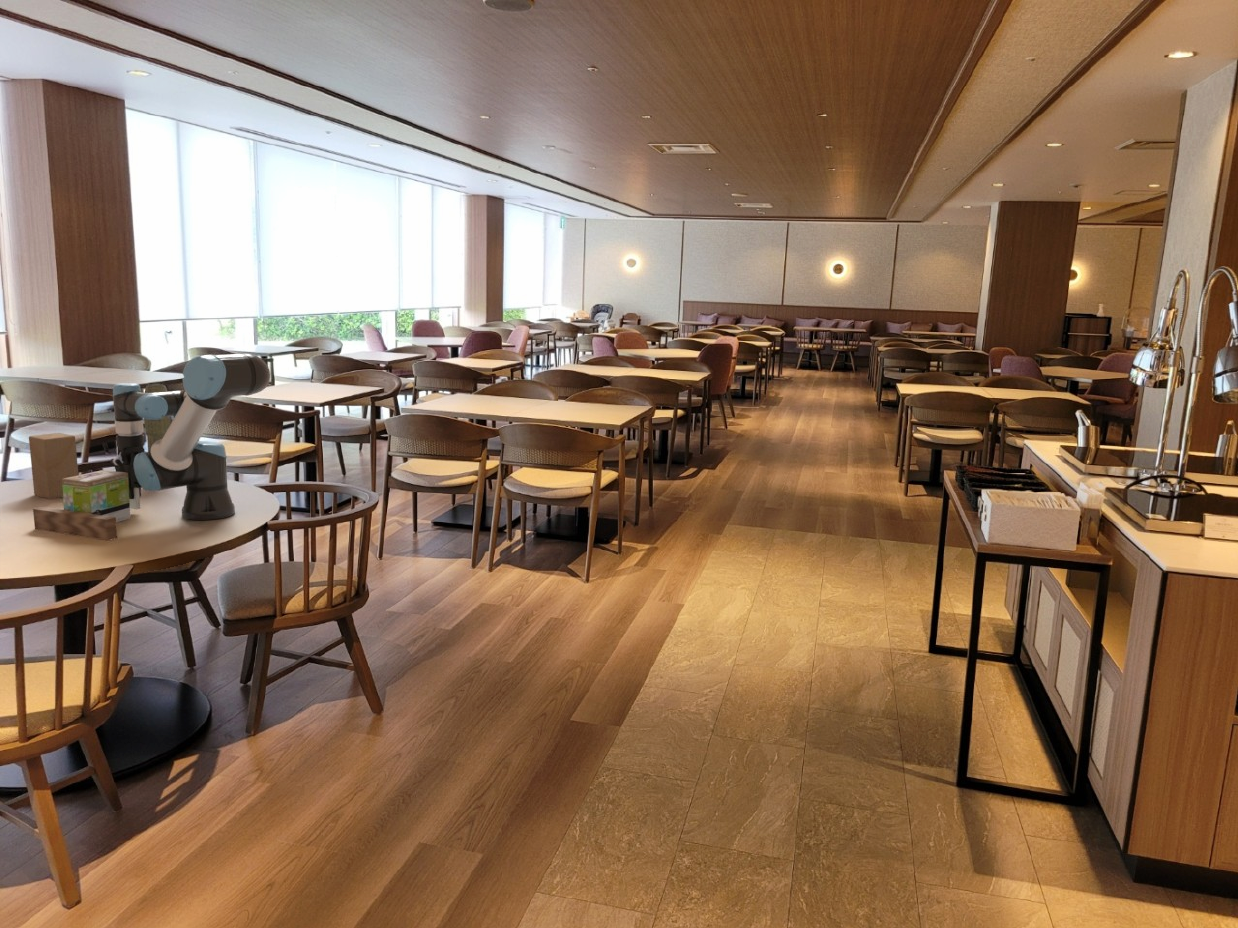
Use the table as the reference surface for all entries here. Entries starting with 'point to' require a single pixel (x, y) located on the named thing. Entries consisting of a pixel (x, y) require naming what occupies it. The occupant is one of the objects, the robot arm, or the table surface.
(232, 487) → the table surface
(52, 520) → the walnut plank
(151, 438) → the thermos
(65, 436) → the wooden block
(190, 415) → the robot arm
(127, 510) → the tea box
